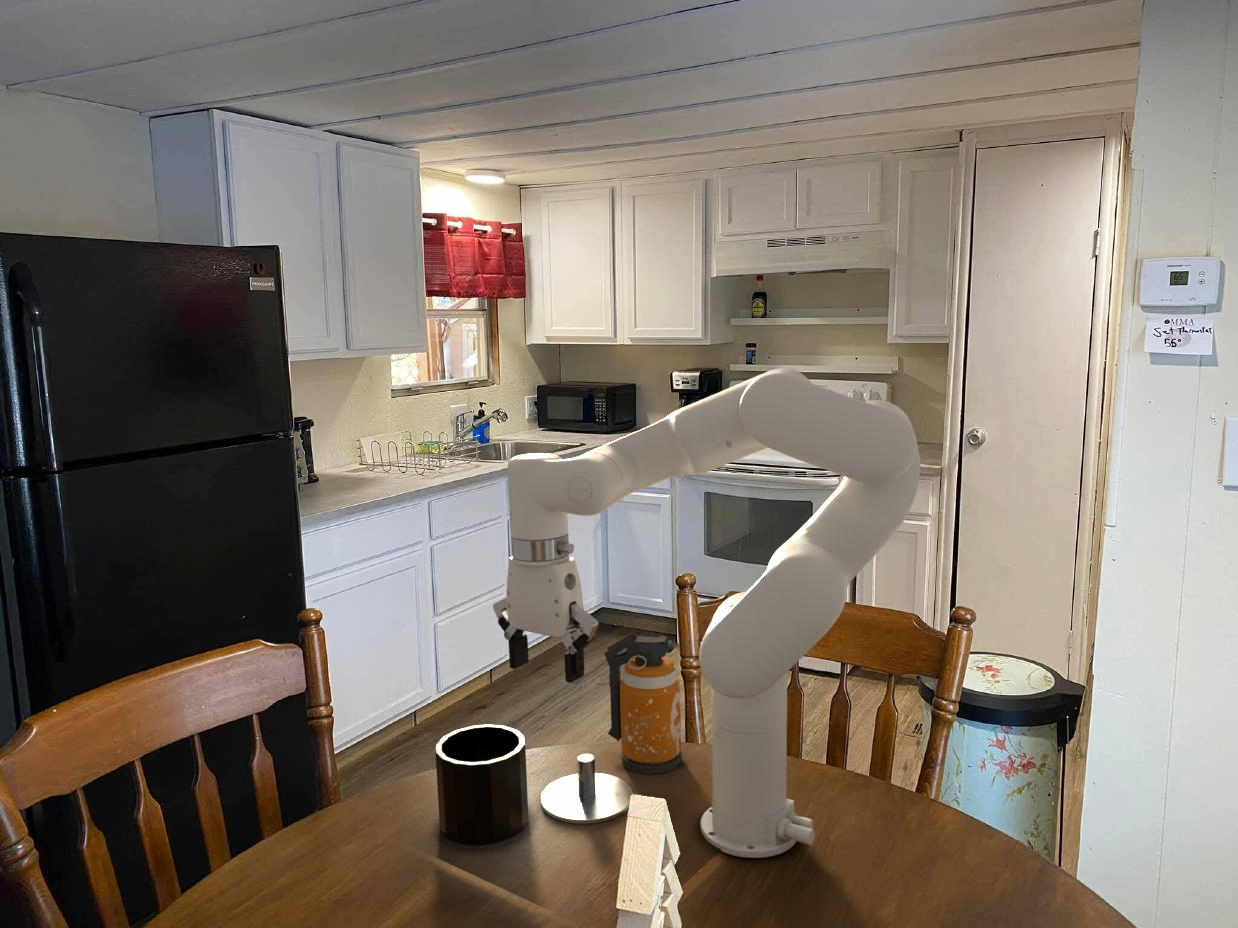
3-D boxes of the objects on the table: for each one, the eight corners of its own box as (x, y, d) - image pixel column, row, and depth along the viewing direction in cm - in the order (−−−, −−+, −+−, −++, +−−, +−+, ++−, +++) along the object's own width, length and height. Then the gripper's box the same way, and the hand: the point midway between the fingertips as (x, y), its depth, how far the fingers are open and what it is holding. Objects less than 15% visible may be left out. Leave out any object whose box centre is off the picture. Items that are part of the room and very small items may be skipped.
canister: (676, 780, 132) (674, 648, 129) (602, 774, 134) (598, 644, 131) (684, 751, 141) (682, 627, 138) (614, 746, 143) (611, 624, 140)
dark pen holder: (546, 818, 123) (542, 737, 121) (485, 859, 113) (480, 773, 112) (484, 794, 129) (480, 717, 128) (422, 831, 120) (416, 749, 119)
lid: (651, 796, 128) (650, 751, 127) (595, 838, 117) (594, 790, 116) (580, 772, 135) (578, 729, 134) (522, 809, 125) (519, 764, 124)
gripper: (610, 548, 118) (615, 675, 120) (510, 535, 128) (517, 652, 130) (574, 562, 112) (580, 694, 114) (472, 546, 122) (480, 669, 124)
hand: (546, 672), depth 122 cm, fingers open, 9 cm apart
